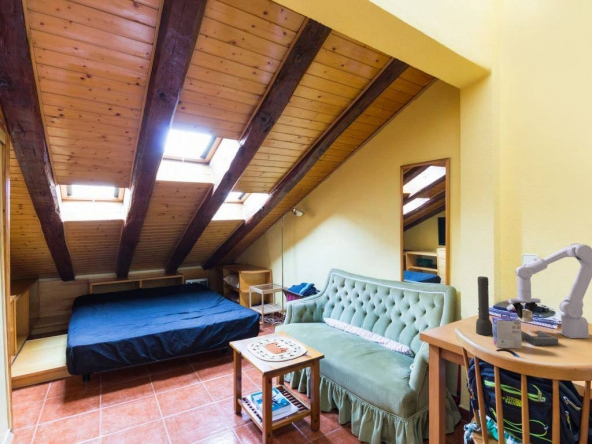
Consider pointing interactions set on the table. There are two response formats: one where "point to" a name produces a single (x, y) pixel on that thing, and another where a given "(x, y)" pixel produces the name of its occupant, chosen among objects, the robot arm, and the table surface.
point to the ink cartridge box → (507, 332)
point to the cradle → (540, 339)
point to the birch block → (526, 316)
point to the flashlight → (483, 308)
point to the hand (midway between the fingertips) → (525, 317)
